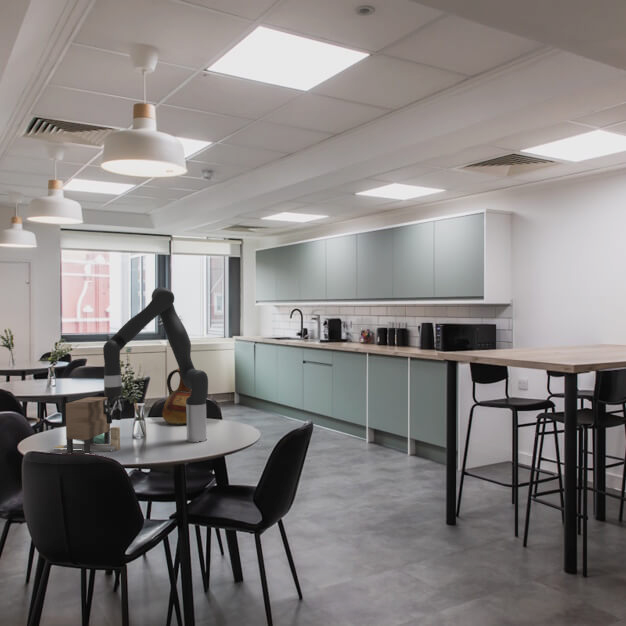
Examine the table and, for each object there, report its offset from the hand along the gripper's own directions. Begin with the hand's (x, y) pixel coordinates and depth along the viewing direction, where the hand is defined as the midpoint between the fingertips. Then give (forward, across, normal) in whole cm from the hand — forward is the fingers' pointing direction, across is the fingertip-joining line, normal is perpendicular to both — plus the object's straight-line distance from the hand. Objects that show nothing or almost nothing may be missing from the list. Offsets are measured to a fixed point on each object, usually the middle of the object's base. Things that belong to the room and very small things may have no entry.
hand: (114, 421), depth 276 cm
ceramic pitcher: (+14, +66, -5) cm, 67 cm away
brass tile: (+13, -1, +25) cm, 28 cm away
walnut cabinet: (+12, -1, +12) cm, 17 cm away
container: (+13, +16, +20) cm, 29 cm away
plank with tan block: (+12, -1, +11) cm, 16 cm away
